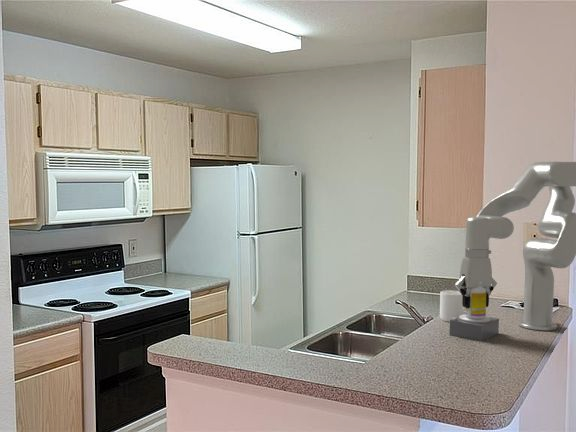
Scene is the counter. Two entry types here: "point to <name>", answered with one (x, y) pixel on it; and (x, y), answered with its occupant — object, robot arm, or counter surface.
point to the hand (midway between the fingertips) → (475, 306)
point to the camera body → (474, 327)
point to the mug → (450, 305)
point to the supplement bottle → (477, 303)
